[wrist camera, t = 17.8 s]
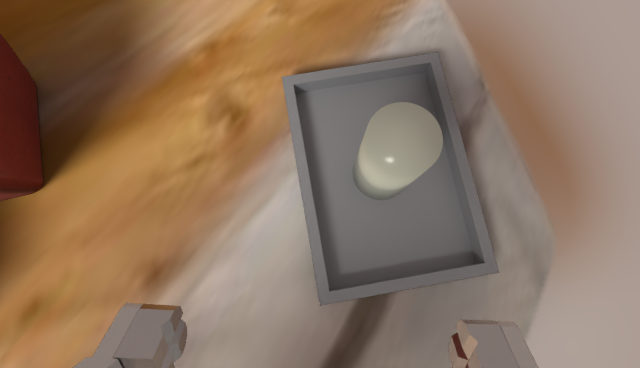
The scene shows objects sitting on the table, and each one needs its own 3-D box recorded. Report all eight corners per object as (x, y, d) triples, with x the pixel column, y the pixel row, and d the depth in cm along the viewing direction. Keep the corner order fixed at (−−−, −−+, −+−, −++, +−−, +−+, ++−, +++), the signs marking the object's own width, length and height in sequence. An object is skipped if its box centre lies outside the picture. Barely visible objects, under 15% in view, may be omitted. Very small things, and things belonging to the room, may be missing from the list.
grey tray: (485, 271, 33) (499, 272, 31) (320, 302, 33) (320, 305, 30) (430, 65, 38) (437, 52, 35) (284, 88, 37) (281, 76, 35)
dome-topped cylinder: (413, 194, 34) (451, 168, 24) (358, 204, 34) (374, 181, 24) (401, 142, 35) (432, 96, 26) (347, 151, 35) (358, 108, 25)
